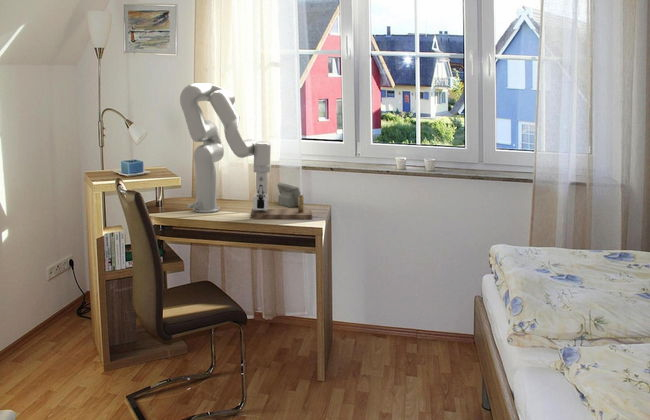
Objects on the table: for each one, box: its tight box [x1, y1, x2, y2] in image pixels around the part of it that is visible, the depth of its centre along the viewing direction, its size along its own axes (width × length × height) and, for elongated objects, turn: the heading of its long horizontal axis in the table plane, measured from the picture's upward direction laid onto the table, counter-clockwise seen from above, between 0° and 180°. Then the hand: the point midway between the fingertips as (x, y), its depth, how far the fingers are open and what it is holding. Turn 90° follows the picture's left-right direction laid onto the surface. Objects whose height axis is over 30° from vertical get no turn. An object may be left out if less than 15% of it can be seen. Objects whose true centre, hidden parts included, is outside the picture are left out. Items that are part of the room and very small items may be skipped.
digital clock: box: [277, 182, 302, 208], centre depth 373 cm, size 16×9×11 cm, turn 29°
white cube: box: [253, 193, 269, 210], centre depth 347 cm, size 6×6×6 cm
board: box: [250, 194, 313, 220], centre depth 348 cm, size 28×12×10 cm, turn 93°
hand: (260, 206), depth 348 cm, fingers closed on white cube, 6 cm apart
